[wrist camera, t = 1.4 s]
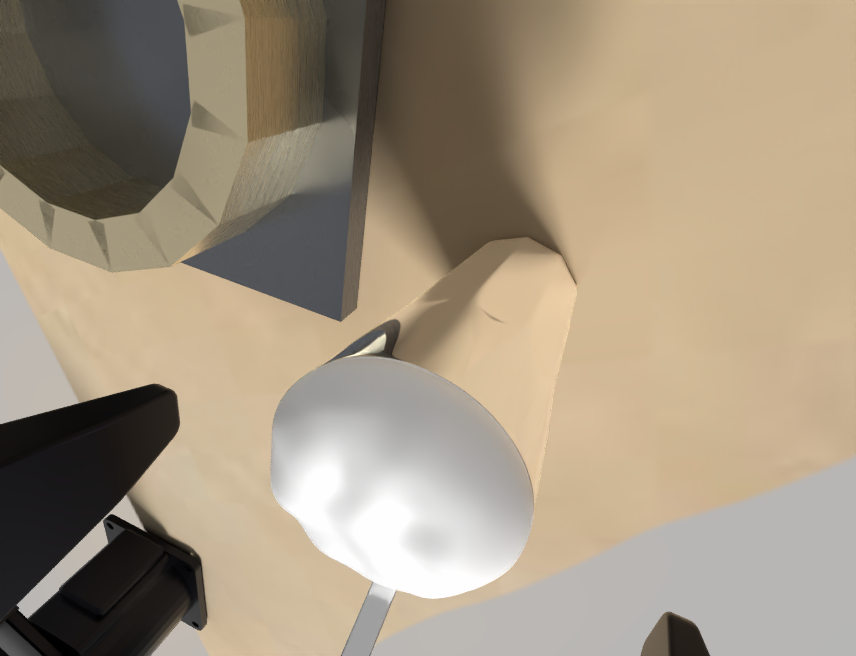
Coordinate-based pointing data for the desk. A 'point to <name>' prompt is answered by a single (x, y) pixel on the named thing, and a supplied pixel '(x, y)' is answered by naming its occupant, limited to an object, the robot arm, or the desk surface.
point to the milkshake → (431, 432)
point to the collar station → (195, 136)
